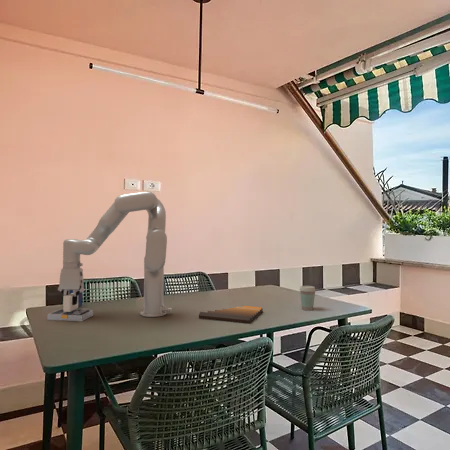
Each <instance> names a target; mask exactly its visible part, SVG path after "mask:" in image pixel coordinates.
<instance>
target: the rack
mask: <svg viewBox="0 0 450 450" xmlns="http://www.w3.org/2000/svg"><path fill="white" fill-rule="evenodd" d="M93 316H94V310H93V309H90V308H85V307H83V308H81V309H74V310H72V311H70V312H63V308H60V309H57V310H54V311H51V312H49V313H47V316H46V317H47V318H46V319H47V321H68V322H69V321H70V322H84V321H85V320H87V319H89V318H91V317H93Z"/></svg>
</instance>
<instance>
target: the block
mask: <svg viewBox="0 0 450 450" xmlns="http://www.w3.org/2000/svg"><path fill="white" fill-rule="evenodd" d="M72 297H73V293H71V294H68V295H66V296H64V295H63V297H62V298H63V300H62V301H63V302H62V304H63V306H62V309H63V312H70V311H72V310H74V309H76V310H78V308H79V307H78V296H77V304H76V305H72Z"/></svg>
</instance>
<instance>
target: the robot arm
mask: <svg viewBox="0 0 450 450" xmlns="http://www.w3.org/2000/svg"><path fill="white" fill-rule="evenodd" d="M140 211H147V214H148V217H147V218H148V222H147V233H146V235H145V236H146V237H145V239H146V242H145V254H144V255H145V256H144V258H143V267H144V268H143V271H144V272H143V280H144V281H143V310H141V311H140V312H139V313H140V315H141V316H142V317H145V318H146V317H148V318H157V317H163V316H165V315H167V312H170V313H171V312H172V310H173V309H172V307H171V306H166V304H165V303H164V290H165V289H164V284H165V283H164V282H165V269H164V267H165V264H166V257H167V248H168V247H167V244H168V236H167V233H166V224H167V223H166V221H167V220H166V219H167V214H166V208H165V206H164V204H163V203H162V201H161V200H160V199H159V198H158V197H157V196H156V194H155V193H154V192H152V191H142V192H141V191H139V192H133V193H126V194H120V195H118V196H116V197H115V199H114V201H113V203H112V204H111V206H109V208H108V209H107V210H106V211H105V212H104V213H103V215H102V216H101V217H100V218H99V221H98V223H97V224H96V226H95V228H94V229H93V230H92V231H91V233H90V234H89V235H88V237H86V238H85V239H77V238H70V239H69V238H68V239H64V240H63V243H62V244H63V246H62V248H63V249H62V250H63V251H62V268H61V269H60V276H59V283H58V284H59V285H58V287H57V291H59V292H60V293H61V294H62V295H63V296H66V295H68V294H69V290H73V297H72V305H76V304H77V296H78V295H79V294H80V293H81V292H82V293H83V292H85V291H86V290H85V288H84V287H85V286H84V284H85V283H84V273H83V272H82V269H83V268H82V267H83V265H84V264H83V263H82V262H81V255H83V256H91V255H93V254H95V253H97V251H98V250H99V248H100V247H101V246H103V244H104V242H105V241H106V240H107V239H108V238H109V236H110V235H111V234H112V233H114V232H115V230H116V229H117V228H118V226H119V225H120V224H121V223H122V221H124V219H125V218H126V216H128V214H129V213H132V212H133V213H134V212H140ZM78 289H80V290H79V291H78Z"/></svg>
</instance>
